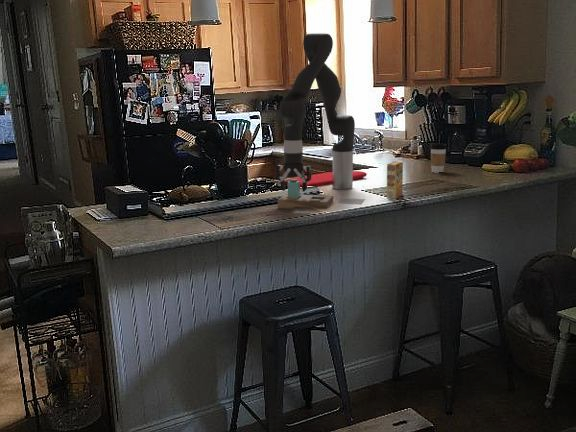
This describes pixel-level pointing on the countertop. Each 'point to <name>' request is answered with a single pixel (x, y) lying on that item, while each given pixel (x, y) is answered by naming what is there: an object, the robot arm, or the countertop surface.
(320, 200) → the socket block
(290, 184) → the plug
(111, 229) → the countertop surface
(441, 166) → the coffee cup
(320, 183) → the dish drying mat
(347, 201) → the deck
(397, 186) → the candy box
